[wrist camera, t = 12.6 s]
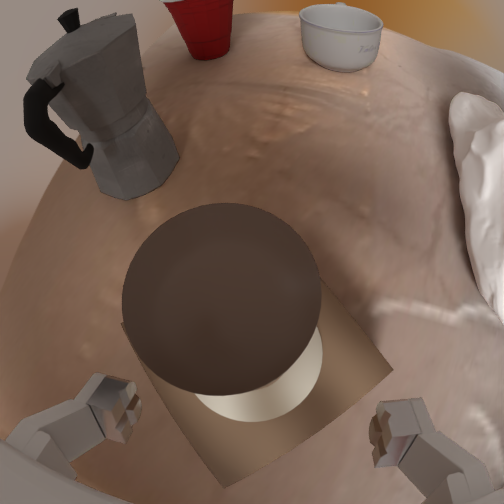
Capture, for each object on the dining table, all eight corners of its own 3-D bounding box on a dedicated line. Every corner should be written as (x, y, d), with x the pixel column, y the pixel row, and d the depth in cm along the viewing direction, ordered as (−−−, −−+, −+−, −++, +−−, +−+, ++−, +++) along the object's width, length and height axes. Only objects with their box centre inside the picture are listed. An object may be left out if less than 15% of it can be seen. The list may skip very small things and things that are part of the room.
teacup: (369, 90, 33) (380, 37, 25) (288, 69, 35) (288, 17, 28) (379, 50, 38) (386, 9, 31) (314, 34, 40) (316, -7, 33)
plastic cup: (185, 40, 42) (172, -20, 31) (249, 36, 40) (244, -27, 30) (163, 72, 37) (143, 1, 26) (238, 67, 36) (229, -11, 25)
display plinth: (232, 471, 17) (223, 490, 13) (144, 335, 22) (118, 322, 18) (373, 374, 19) (395, 369, 16) (274, 250, 24) (275, 221, 20)
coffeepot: (115, 128, 32) (58, 3, 16) (189, 117, 32) (152, -30, 15) (77, 243, 26) (-47, 107, 9) (168, 239, 25) (62, 46, 9)
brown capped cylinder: (239, 407, 15) (185, 434, 5) (195, 341, 17) (96, 267, 7) (308, 360, 16) (363, 311, 6) (261, 297, 18) (244, 174, 8)
